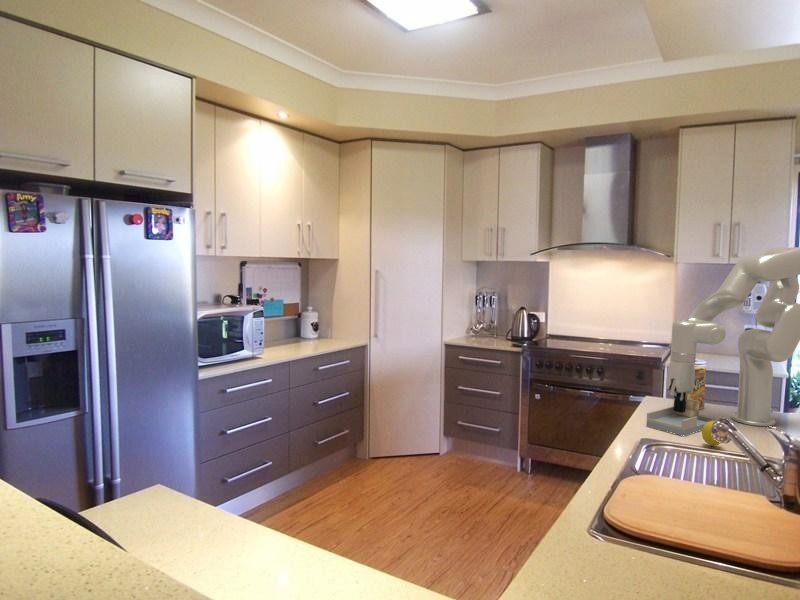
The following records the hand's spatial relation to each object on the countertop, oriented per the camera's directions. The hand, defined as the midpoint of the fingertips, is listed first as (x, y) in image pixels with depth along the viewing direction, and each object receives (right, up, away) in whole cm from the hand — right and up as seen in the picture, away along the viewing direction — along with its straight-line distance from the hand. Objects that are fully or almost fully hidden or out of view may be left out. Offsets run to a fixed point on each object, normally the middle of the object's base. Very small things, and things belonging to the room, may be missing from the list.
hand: (679, 411), depth 186 cm
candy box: (+14, -3, +18) cm, 23 cm away
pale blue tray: (-1, -4, -4) cm, 5 cm away
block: (+4, -2, +3) cm, 5 cm away
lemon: (-3, -6, -24) cm, 25 cm away
